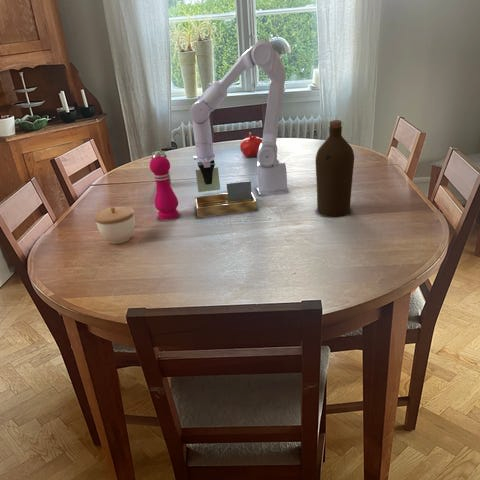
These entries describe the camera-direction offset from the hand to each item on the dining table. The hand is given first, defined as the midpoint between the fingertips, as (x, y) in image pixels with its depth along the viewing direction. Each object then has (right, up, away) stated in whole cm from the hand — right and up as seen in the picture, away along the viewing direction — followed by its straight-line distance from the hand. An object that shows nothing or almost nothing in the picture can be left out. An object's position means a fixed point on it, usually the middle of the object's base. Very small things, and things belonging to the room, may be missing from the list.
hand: (208, 183), depth 162 cm
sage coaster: (0, -2, +1) cm, 2 cm away
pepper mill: (-12, -14, -13) cm, 22 cm away
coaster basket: (+6, -11, -11) cm, 17 cm away
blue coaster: (+11, -10, -11) cm, 19 cm away
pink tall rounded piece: (-17, +3, +15) cm, 23 cm away
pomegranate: (+16, +23, +40) cm, 49 cm away
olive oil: (+38, -14, -20) cm, 46 cm away
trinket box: (-24, -23, -24) cm, 41 cm away
